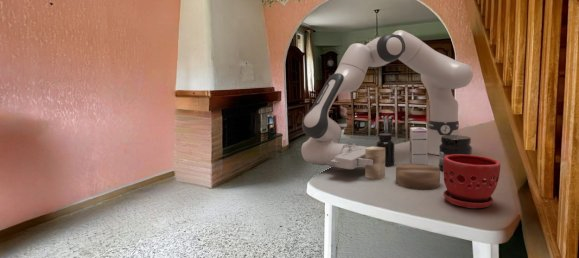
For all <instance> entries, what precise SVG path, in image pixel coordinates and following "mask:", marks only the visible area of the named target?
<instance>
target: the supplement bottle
mask: <svg viewBox="0 0 579 258" xmlns="http://www.w3.org/2000/svg"><path fill="white" fill-rule="evenodd" d="M375 147H383V148H385V167H392V166H394V165H395V142H394V141H393V136H392V133H387V132H386V133H379V134H378V141H376V143H375Z"/></svg>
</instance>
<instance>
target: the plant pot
mask: <svg viewBox="0 0 579 258" xmlns="http://www.w3.org/2000/svg"><path fill="white" fill-rule="evenodd" d="M451 171H452V173H451ZM442 172H443V182H444V185H445V188H446V190H444V191H443V197H444V198H445V200H446V201H448V202H449V203H450V204H452V205H456V206H457V207H463V208H469V209H481V208H486V207H487V208H488V207H489V206H491V205H492V204H493V202H494V199H493V194H494V192H495V190H496V189H497V187H498V183H499V179H500V173H501V162H500V161H498V160H496V159H494V158H491V157H487V156H481V155H474V154H472V155H464V154H453V155H447V156H445V157H444V160H443V170H442Z"/></svg>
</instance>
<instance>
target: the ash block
mask: <svg viewBox="0 0 579 258" xmlns="http://www.w3.org/2000/svg"><path fill="white" fill-rule="evenodd" d="M368 147H369V148H366V149H365V159H374V164H373V165H364V166H365V167H364V168H365V169H364V170H365V171H364V174H365V177H366V179H370V178H371V179H372V180H377V179H378V181H379V180H381V178H382V179H383V178H385V177H386V166H385V148H383V147H376V146H368ZM384 176H385V177H384ZM365 177H364V178H365ZM371 179H370V180H371Z"/></svg>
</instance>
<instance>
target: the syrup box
mask: <svg viewBox="0 0 579 258" xmlns="http://www.w3.org/2000/svg"><path fill="white" fill-rule="evenodd" d="M428 131H429V129H427V128H426V127H422V126H420V127H419V126H417V127H416V126H413V127H409V164H426V165H428V154H429V153H428Z"/></svg>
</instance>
